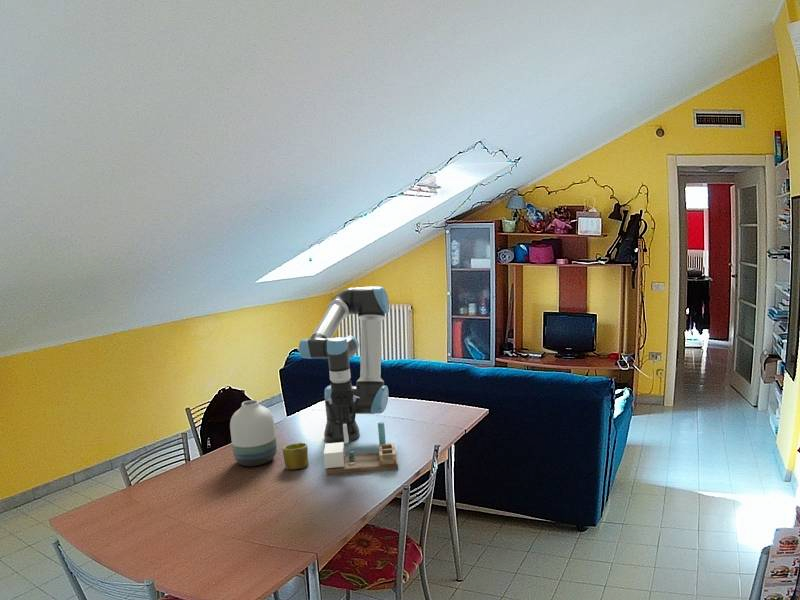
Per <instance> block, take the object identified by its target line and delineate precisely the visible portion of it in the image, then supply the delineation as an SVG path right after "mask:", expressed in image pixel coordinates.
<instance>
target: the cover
mask: <svg viewBox="0 0 800 600" xmlns="http://www.w3.org/2000/svg"><path fill="white" fill-rule="evenodd" d="M345 456H346V452H345V443H344V442H339V443H331V442H328V443H325V444H324V450H323V462H324V469H327V468H334V467H344V457H345Z"/></svg>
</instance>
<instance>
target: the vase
mask: <svg viewBox="0 0 800 600" xmlns="http://www.w3.org/2000/svg"><path fill="white" fill-rule="evenodd" d="M275 425H276V424H275V418H274V415H273V413H272V412H271V410H270V409H269V408H267V407H265V406H263V405H261V404H260V402H259V401H258V400H256V399H251V400H245V401H243V402H242V403H241V406H240V408H239V409H237V410H236V411H235V412H234V413H233V414H232V416H231V418H230V422H229V430H230V437H231V438H230V439H231V446H232V453H233V454H232V455H233V457H234V459H235V461H236V462H237V464H239V465H241V466H244V467H245V466H246V467H257V466H261V465H264V464H266V463H267V464H268V463H269V462H270V461H272V460H273V459H274V458H275V456H276V454H277V451H278V450H277V448H278V447H277V434H276V426H275Z"/></svg>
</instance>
